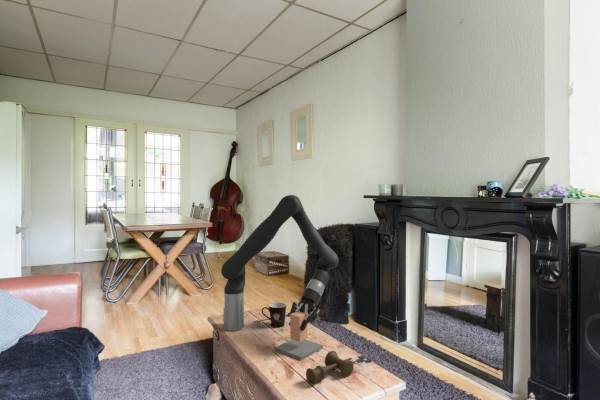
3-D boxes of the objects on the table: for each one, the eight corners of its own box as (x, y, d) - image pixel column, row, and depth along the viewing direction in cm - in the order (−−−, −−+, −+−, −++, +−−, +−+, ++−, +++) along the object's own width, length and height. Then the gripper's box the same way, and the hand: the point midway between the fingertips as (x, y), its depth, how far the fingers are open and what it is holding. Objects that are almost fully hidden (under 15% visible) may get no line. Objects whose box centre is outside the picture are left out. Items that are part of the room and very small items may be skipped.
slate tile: (274, 350, 138) (274, 347, 138) (297, 339, 148) (297, 336, 148) (301, 360, 129) (301, 357, 129) (322, 347, 139) (322, 345, 139)
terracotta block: (290, 338, 138) (290, 314, 138) (298, 334, 142) (298, 311, 142) (299, 341, 135) (299, 316, 135) (307, 337, 139) (307, 313, 139)
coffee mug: (290, 324, 167) (289, 304, 167) (279, 329, 160) (279, 308, 160) (271, 320, 173) (271, 300, 173) (260, 325, 166) (260, 305, 166)
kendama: (300, 379, 116) (342, 360, 128) (319, 392, 108) (361, 371, 120) (300, 362, 116) (342, 345, 128) (318, 374, 108) (361, 355, 120)
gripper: (296, 285, 149) (278, 320, 140) (323, 290, 140) (305, 327, 130) (304, 294, 153) (287, 329, 144) (330, 299, 144) (314, 337, 134)
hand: (296, 328), depth 137 cm, fingers closed on terracotta block, 5 cm apart
